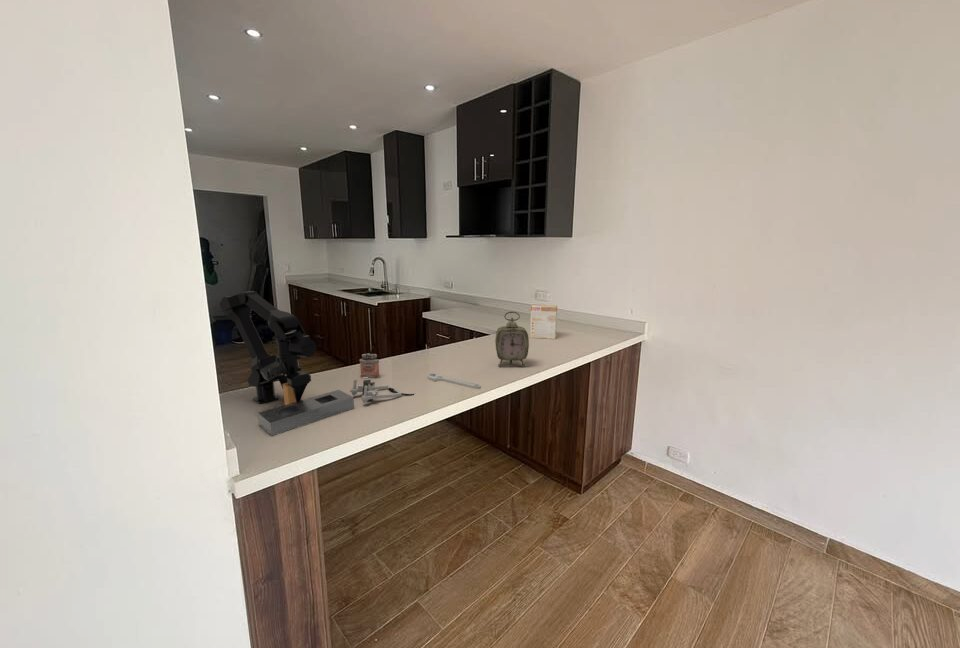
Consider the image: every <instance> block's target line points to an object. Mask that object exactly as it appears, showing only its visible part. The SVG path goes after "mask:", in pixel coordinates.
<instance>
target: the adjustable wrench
mask: <svg viewBox="0 0 960 648" xmlns="http://www.w3.org/2000/svg"><path fill="white" fill-rule="evenodd" d="M433 376H435V377H433ZM426 377H427V380H428V379H429V380H428V381H431V380H432V381H431V382H444V381H445V382H446V383H449V384H453V385H457V384H458V386H461V387H465V388H466V387H467V388H470V389H474V390H479V389H481V384H480V383H474V382H470V381H466V380H462V379H461V380H460V379H457V378H453V377H452V378H451V377H448V376H445V375H443V374H441V373H440V372H430V373H429V375H427V376H426ZM445 382H444V383H445Z"/></svg>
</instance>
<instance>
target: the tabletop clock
mask: <svg viewBox="0 0 960 648" xmlns="http://www.w3.org/2000/svg"><path fill="white" fill-rule="evenodd" d="M508 314H516V315H518V317H517V318H515V319H514V318H513V317H511V318H510V319H509V318H506V316H507V315H508ZM520 317H521V315H520V313H519V312H517V311H508V312H505V314H504V319H505V320H507V321H508V322H507V323H506V325H504V326H500V327H498V328H497V329H496V332H495V341H494V342H495V351H496V357H498V358H497V359H499V360H500V362H499V363H498V364H497V366H498V367H500V368H501V367H503V365H502V362H503V361H508V363H509V365H512V364H513V362H515V361H520V362H521V367H523V368H525V367H526V363H525V362H523V360H525V359H527V357H528V354H529V347H530V343H529V342H530V340H529V333H528V332H527V330H526V328H525V327H523V326H518V323H517V322H516V321H518V320H520Z"/></svg>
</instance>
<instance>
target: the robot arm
mask: <svg viewBox="0 0 960 648" xmlns="http://www.w3.org/2000/svg"><path fill="white" fill-rule="evenodd" d="M219 307H220V309H221V311H222V312H223V314H224V315H225V317H226V318H228V319H229V320H230V321H232V322H234V324H235V325H236V328H237V330H238V332H239V335H240V336H241V338H242V340H243V342H244V345H245V346H246V349H247V351H248V353H249V356H250V357H251V364H250V371H251V374H250V375H249V376H248V378H247V383H248V386H252V387H255V392H256V396H255V397H253V400H254V401H255V402H257V403H258V404H266V403H269V402H272V401H275V400H278V399H280V396H278V395H277V394H276V387H275V381H279V383H280V386H281V388H282V389H283V384H284V383H288V385H289V386H291V387H292V388H293V391H294V395H295V399H296V401H300V400H302V397H303V395H304V393H305V390H306V388H307V386H308V384H309V383H310V382H312V376H311V374H309V373H307V372H306V371H304V370H303V371H302V367H301V366H300V363H299V360H301V357H304V358H311V357H313V356H314V355H315V354H316V351H317V344H316V342H315V341H314V340H313V339H311V336H310V335H307V334H306V331H305V329H304V328H303V326H302V325H301V323H300V321H299V320H298V317H296V316H295V315H294V314H292V313H290V312H287V311H283V310H279V309H278V308H277V307H275V306H274V305H272V304H271V303H270V302H268V301H267V300H266V299H264V297H262V296H260V294H259V293H258V292H257V291H254V290H249V291H242V292H240V293H238V294H234V295H232V296H231V295H230V296H224V297H222V299H221V300H220V302H219ZM252 311H254V312H255V313H256V314H258V315H259V316H260V317H261V318H263V319H264V320H266V322H267V323H268V324H267V325H268V328H269V329H270V330H271V331H272V332H273V333H274V335H273V336H272V338H271V339H272V340H274V341H276V343H277V345H276V346H277V353H278V356H276V354H273V355H271V354H269V353H268V352H267V349H266V348H265V345H264V343H263V341H262V339H261V337H260V335H259V333H258V331H257V329H256V326H255V325H254V322H253V320H252V318H251V312H252Z"/></svg>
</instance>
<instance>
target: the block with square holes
mask: <svg viewBox="0 0 960 648" xmlns="http://www.w3.org/2000/svg"><path fill="white" fill-rule="evenodd" d="M353 408H354V409H355V400H354V396H353V395H349V394H348V393H346V392H344V391H342V390H340V389H336V390H334V391H330V392H327V393H326V392H324V393H323V394H318V395H315V396H312V397H308V398H305V399H301V401H297V402H294V403H290V404H287V405H285V404H284V405H280V406H277V407H273V408H270V409H266V410H262V411H259V412H257V420H258V426H259V427H261V428H262V429H263V430H264V431H265V432H267V433H268V434H269V435H270V436H272V435H273V436H276V435H278V434H277V433H279V434H281V432H282V433H284V431H285V432H287V430H288V431H290V429H291V430H293V429H296V428H300V427H302V426H306V425H308V423H309V424H311V422H312V423H314V421H315V422H318V421H320V419H321V420H324V419H327V418H329V417H332V416H336V415H338V413H339V414H341V412H342V413H344V411H345V412H348V411H350V410H349V409H351V410H354V409H353ZM347 410H348V411H347ZM317 420H318V421H317ZM275 434H276V435H275Z"/></svg>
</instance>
